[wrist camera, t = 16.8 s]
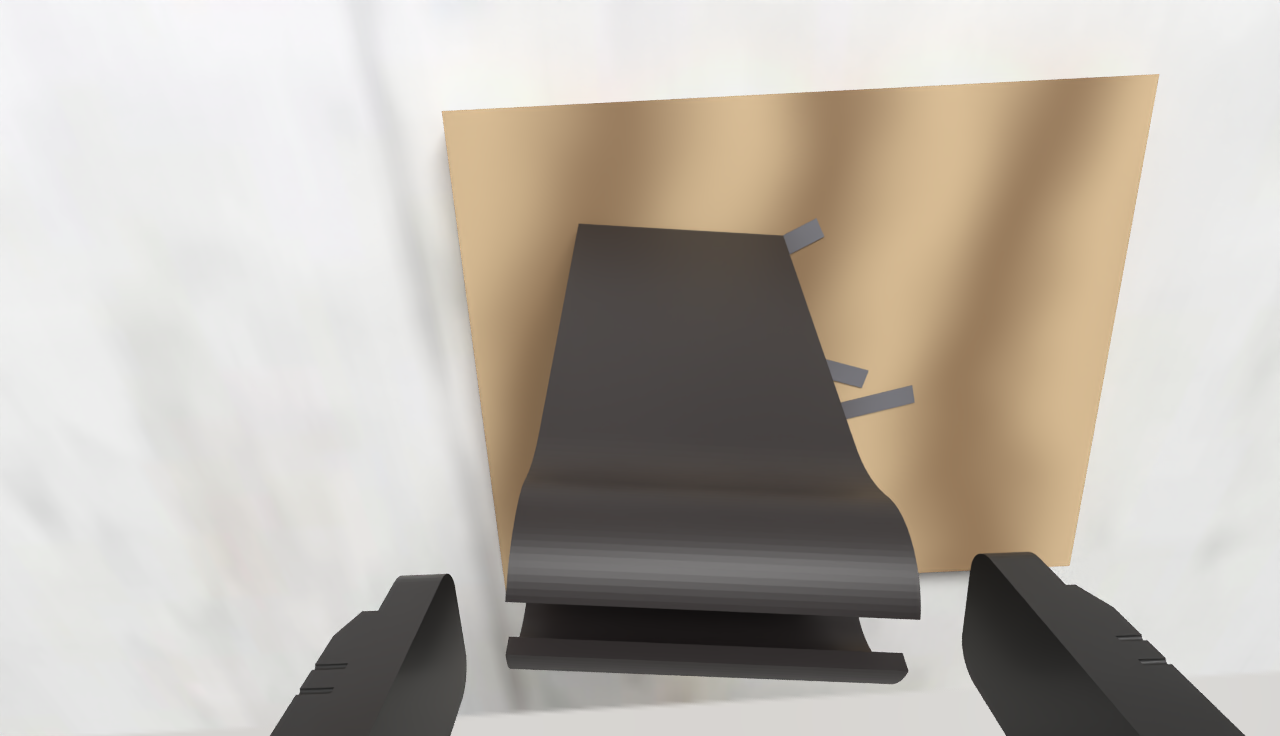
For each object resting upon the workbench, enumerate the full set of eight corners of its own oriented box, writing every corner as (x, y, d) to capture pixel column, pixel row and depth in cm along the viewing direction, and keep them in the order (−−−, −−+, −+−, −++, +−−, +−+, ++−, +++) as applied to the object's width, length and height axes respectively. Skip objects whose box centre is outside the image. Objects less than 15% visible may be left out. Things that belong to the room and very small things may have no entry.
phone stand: (747, 502, 22) (863, 866, 11) (569, 492, 22) (503, 852, 11) (782, 234, 20) (987, 352, 8) (579, 220, 19) (503, 322, 8)
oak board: (1128, 78, 20) (1160, 73, 18) (1049, 546, 25) (1070, 566, 23) (452, 113, 20) (441, 111, 18) (511, 571, 25) (505, 592, 24)
